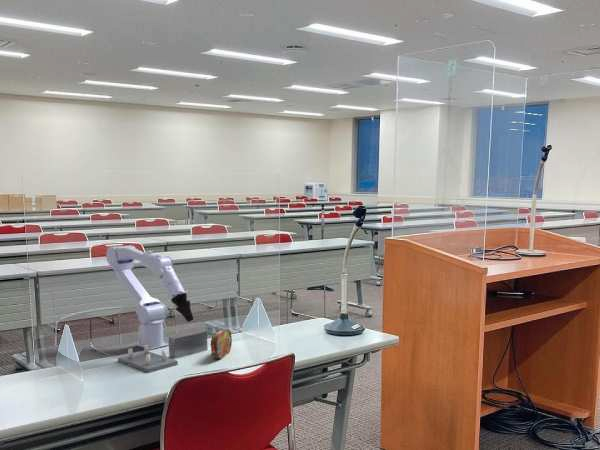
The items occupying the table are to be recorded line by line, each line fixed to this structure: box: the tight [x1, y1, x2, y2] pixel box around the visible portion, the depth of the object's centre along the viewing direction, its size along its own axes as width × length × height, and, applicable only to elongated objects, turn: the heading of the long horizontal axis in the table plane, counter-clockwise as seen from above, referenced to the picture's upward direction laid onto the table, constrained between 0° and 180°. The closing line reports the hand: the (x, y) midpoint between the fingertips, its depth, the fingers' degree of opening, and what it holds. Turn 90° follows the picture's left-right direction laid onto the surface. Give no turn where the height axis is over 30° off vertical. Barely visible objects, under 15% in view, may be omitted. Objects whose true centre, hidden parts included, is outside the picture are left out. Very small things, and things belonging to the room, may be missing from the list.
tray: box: [117, 345, 178, 374], centre depth 179 cm, size 19×11×4 cm, turn 48°
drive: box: [168, 329, 208, 359], centre depth 190 cm, size 4×14×7 cm, turn 137°
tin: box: [210, 328, 233, 360], centre depth 187 cm, size 15×3×8 cm, turn 168°
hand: (189, 317), depth 187 cm, fingers open, 7 cm apart
